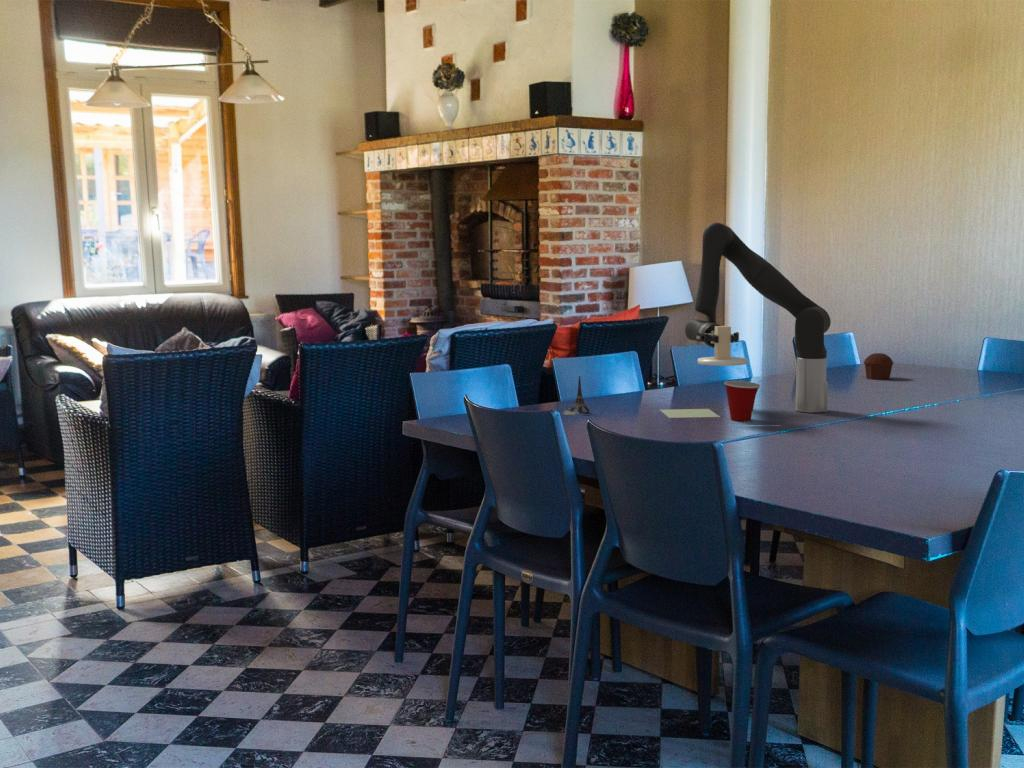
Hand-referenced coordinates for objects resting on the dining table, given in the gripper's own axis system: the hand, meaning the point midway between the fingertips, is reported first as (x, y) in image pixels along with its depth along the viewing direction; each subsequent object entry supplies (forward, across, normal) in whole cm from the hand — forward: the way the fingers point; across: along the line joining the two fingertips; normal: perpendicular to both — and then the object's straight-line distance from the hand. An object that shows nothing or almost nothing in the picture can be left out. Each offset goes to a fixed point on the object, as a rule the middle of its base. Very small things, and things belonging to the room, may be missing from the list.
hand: (725, 339), depth 312 cm
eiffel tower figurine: (-21, -43, +25) cm, 54 cm away
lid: (-3, 0, +8) cm, 8 cm away
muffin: (-94, +84, +25) cm, 129 cm away
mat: (-11, -8, +25) cm, 29 cm away
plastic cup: (+2, +5, +25) cm, 26 cm away
